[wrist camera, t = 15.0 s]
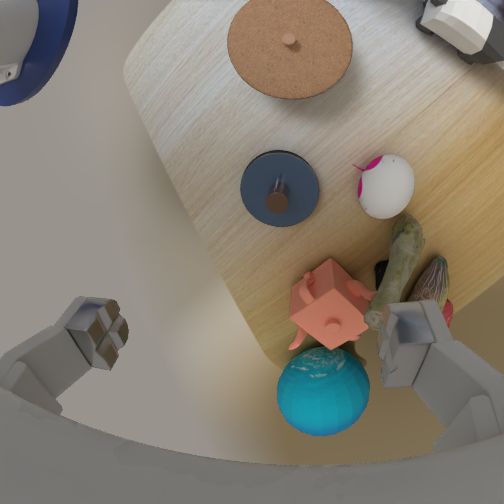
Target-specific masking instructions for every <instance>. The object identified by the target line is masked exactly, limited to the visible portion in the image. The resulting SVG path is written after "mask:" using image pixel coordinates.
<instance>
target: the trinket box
mask: <svg viewBox="0 0 504 504" xmlns="http://www.w3.org/2000/svg"><path fill="white" fill-rule="evenodd" d="M227 42H228V52H229V57H230V59H231V62H232V64H233V66H234V68H235V70H236V71H237V73H238V74H239V75H240V76H241V78H242V79H243V80H244V81H246V82H247V83H248V84H249V85H250V86H252V87H253V88H255V89H256V90H258V91H260V92H262V93H264V94H266V95H269V96H272V97H275V98H281V99H292V100H295V99H305V98H309V97H313V96H316V95H318V94H321V93H323V92H325V91H326V90H328V89H330V88H331V87H332V86H334V85H335V84H336V83H337V82H338V81H339V80H340V79H341V78H342V76H343V75H344V73H345V72H346V70H347V69H348V66H349V64H350V61H351V57H352V50H353V42H352V37H351V32H350V30H349V27H348V25H347V23H346V21H345V19H344V18H343V16H342V15H341V14H340V13H339V11H338V10H337V9H336V8H335V7H334V6H332V5H331V4H330V3H329V2H327V1H326V0H250V1H249V2H248V3H246V4H245V5H244V6H243V7H242V8H241V9H240V10H239V12H238V13H237V14H236V16H235V17H234V19H233V21H232V23H231V26H230V28H229V32H228V38H227Z"/></svg>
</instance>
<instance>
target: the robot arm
mask: <svg viewBox="0 0 504 504" xmlns="http://www.w3.org/2000/svg"><path fill="white" fill-rule="evenodd" d="M38 19H39V7H38V3H37V0H0V85H1V84H4V83H7V82H9V81H12V80H15V79H17V78H18V77H19V74H20V71H21V68H22V64H23V60H24V58H25V56H26V54H27V52H28V50H29V49H30V46H31V44H32V42H33V39H34V37H35V33H36V30H37V25H38ZM119 311H120V308H119V306H118V304H117V302H116V301H115V300H112V299H103V298H94V297H83V296H80V297H77V298H75V300H74V301H73V302H72V303H71V304H70V306H69V307H68V308H67V309H66V311H65V312H64V313H63V314H62V316H61V317H60V318H59V320H58V321H57V322H56V323H55V325H54V326H49V327H47V328H46V329H44V330H42V331H41V332H39V333H37V334H36V335H34V336H32V337H31V338H29V339H27V340H26V341H24V342H22V343H21V344H19V345H17V346H16V347H14V348H12V349H11V350H9V351H8V352H6V353H4V355H3V356H2V357H1V359H0V504H504V376H503V375H502V374H500V373H499V372H498V371H497V370H495V369H494V368H493V367H492V366H491V365H489V364H488V363H487V362H486V361H484V360H483V359H482V358H480V357H479V356H478V355H477V354H475V353H474V352H473V351H471V350H470V349H469V348H468V347H466V346H465V345H463V344H462V343H461V342H460V341H459V340H453V338H452V335H451V333H450V331H449V328H448V326H447V324H446V321H445V319H444V317H443V315H442V312H441V310H440V308H439V306H438V304H437V302H436V301H435V300H422V301H413V302H397V303H385V305H384V307H383V311H382V317H383V321H384V322H383V323H381V324H380V325H379V330H378V337H377V347H378V355H379V358H381V359H382V360H383V364H382V368H381V373H382V379H383V385H384V388H393V387H406V386H412V388H413V390H414V391H415V392H416V393H417V394H418V395H419V397H420V398H421V399H422V400H423V401H424V403H425V404H426V405H427V406H428V407H429V408H430V410H431V411H432V412H433V413H434V414H435V416H436V417H437V418H438V419H439V421H440V422H441V423H442V424H443V426H444V427H445V428H446V430H445V431H444V432H443V433H442V434H441V436H440V437H439V438H438V439H437V440H436V442H435V443H434V444H433V451H434V453H431V454H426V455H421V456H415V457H409V458H402V459H396V460H389V461H380V462H370V463H359V464H344V465H277V464H261V463H249V462H239V461H231V460H222V459H216V458H209V457H203V456H197V455H192V454H186V453H181V452H176V451H172V450H167V449H163V448H159V447H154V446H151V445H146V444H143V443H139V442H135V441H132V440H128V439H125V438H122V437H118V436H115V435H112V434H109V433H106V432H103V431H100V430H97V429H94V428H91V427H89V426H86V425H83V424H80V423H78V422H75V421H73V420H70V419H68V418H66V417H63V416H61V415H60V414H61V412H62V410H63V409H62V406H61V405H60V404H59V403H58V401H56V398H57V397H58V396H59V395H60V394H61V393H63V392H64V391H65V390H66V389H67V388H68V387H70V386H71V385H72V384H73V383H74V382H76V381H77V380H78V379H79V378H80V377H82V376H83V375H84V374H85V373H86V372H87V371H89V370H90V369H91V367H95V368H100V369H105V370H111V369H112V367H113V365H114V363H115V362H116V360H117V358H118V350H119V349H120V348H122V347H123V346H124V345H125V343H126V341H127V339H128V333H129V332H128V331H129V330H128V325H127V322H126V320H125V319H124V318H123V317H122V316H121V315H120V314H119Z"/></svg>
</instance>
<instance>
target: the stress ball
mask: <svg viewBox="0 0 504 504" xmlns="http://www.w3.org/2000/svg"><path fill="white" fill-rule="evenodd" d="M352 165H353V164H352ZM354 166H355V165H354ZM356 167H357V166H356ZM357 168H359V167H357ZM359 169H360V170H362V171H364V172H363V174H362V176H361V178H360V181H359V186H358V197H359V201H360V204H361V206H362V208H363V210H364V211H365V212H366V213H367V214H368V215H370V216H371V217H374V218H377V219H388V218H391V217H393V216H395V215H397V214H399V213H400V212H401V211H402V210H403V209H404V208H405V207H406V206H407V204H408V203H409V201H410V199H411V197H412V195H413V191H414V184H415V180H414V174H413V171H412V168H411V167H410V165H409V164H408V162H407V161H406V160H405V159H403V158H402V157H400V156H397V155H391V154H389V155H383V156H380V157H378V158H376V159H375V160H373V161H372V162H371V163H370V164H369V165H368V166H367V167H366V169H365V170H363V169H361V168H359Z"/></svg>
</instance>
